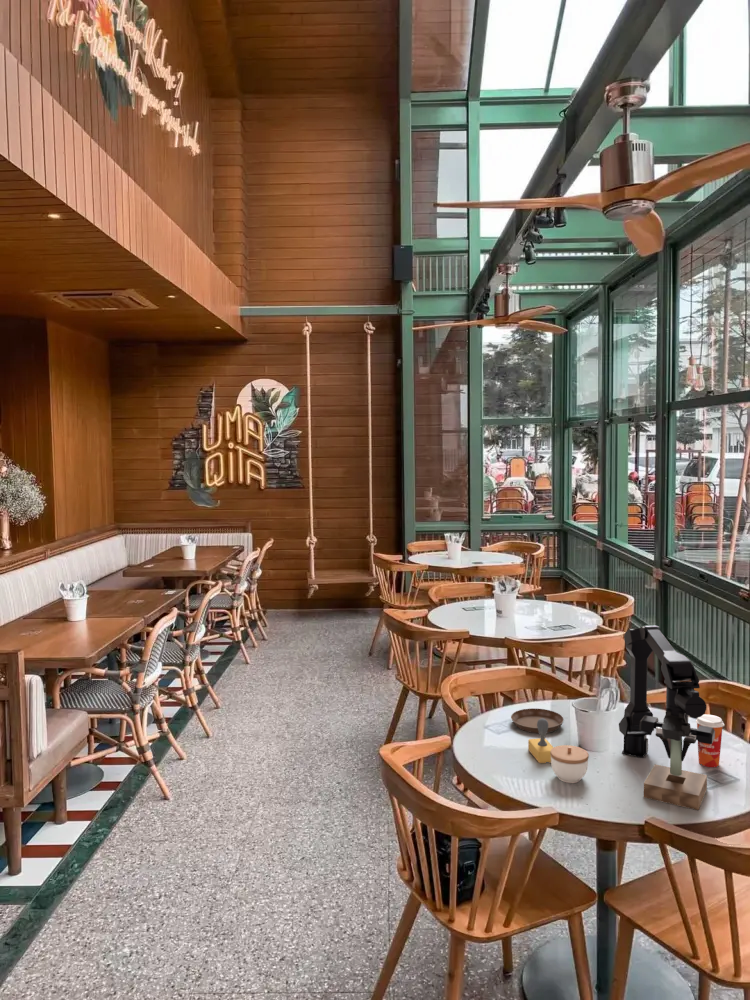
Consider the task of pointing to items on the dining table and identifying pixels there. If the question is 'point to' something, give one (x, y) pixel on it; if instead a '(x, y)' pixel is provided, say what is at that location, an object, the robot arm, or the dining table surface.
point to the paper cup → (711, 752)
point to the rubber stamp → (541, 743)
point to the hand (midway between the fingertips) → (676, 759)
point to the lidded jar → (569, 763)
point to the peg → (676, 757)
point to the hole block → (675, 787)
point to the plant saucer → (536, 719)
